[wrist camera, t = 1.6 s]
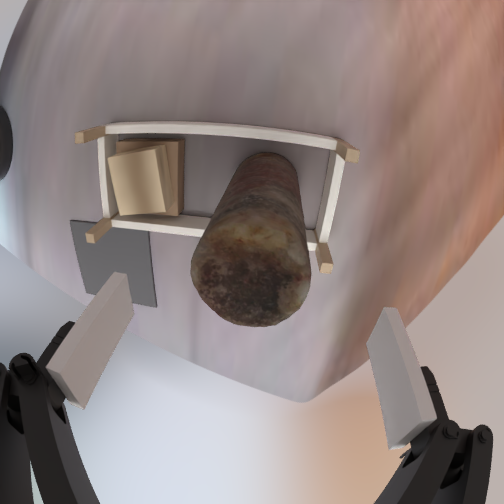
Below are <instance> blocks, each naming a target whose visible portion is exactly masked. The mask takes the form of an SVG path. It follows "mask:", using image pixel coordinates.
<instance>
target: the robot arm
mask: <svg viewBox="0 0 504 504" xmlns="http://www.w3.org/2000/svg"><path fill="white" fill-rule="evenodd" d="M11 157H12V133H11V127H10V123H9V120H8V117H7V115H6V113H5V111H4V110H3V108H2V107H1V106H0V181H1V180H2V179H3V178H4V177H5V175H6V173H7V171H8V169H9V166H10V162H11ZM133 316H134V310H133V305H132V300H131V295H130V290H129V284H128V279H127V274H124V273H118V272H114V273H113V274H112V275H111V276H110V278H109V279H108V280H107V281H106V283H105V284H104V285H103V287H102V288H101V289H100V290H99V292H98V293H97V294H96V296H95V297H94V298H93V300H92V301H91V302H90V304H89V305H88V306H87V308H86V309H85V310H84V312H83V313H82V315H81V316H80V317H79V319H78V320H77V322H76V323H75V322H71V321H69V322H67V323H66V324H65V325H63V326H62V327H61V328H60V329H59V331H58V332H57V334H56V336H55V337H54V338H53V339H52V341H51V343H49V345H48V346H47V348H46V349H45V351H44V352H43V354H42V355H41V357H40V358H39V360H38V361H37V363H36V362H35V360H34V359H33V357H32V356H31V355H30V354H27V353H20V354H18V355H16V356H15V357H13V359H12V360H11V362H10V363H9V369H10V370H7V369H6V367H5V366H4V365H3V364H2V363H0V504H34V501H33V493H32V483H31V470H30V461H31V465H32V468H33V472H34V475H35V479H36V482H37V485H38V488H39V491H40V494H41V497H42V500H43V503H44V504H100V502H99V500H98V498H97V496H96V494H95V492H94V490H93V487H92V485H91V483H90V480H89V478H88V475H87V473H86V470H85V468H84V465H83V463H82V460H81V457H80V455H79V451H78V449H77V446H76V443H75V440H74V437H73V433H72V430H71V426H70V423H69V419H68V416H67V412H66V408H65V405H64V403H63V402H64V400H65V398H67V400H68V401H69V403H70V404H71V405H74V406H76V407H78V408H81V409H83V410H84V409H85V407H86V405H87V403H88V401H89V398H90V396H91V395H92V393H93V391H94V388H95V386H96V384H97V383H98V381H99V379H100V376H101V375H102V372H103V371H104V369H105V367H106V365H107V363H108V361H109V359H110V357H111V355H112V353H113V352H114V350H115V348H116V346H117V344H118V342H119V340H120V339H121V337H122V335H123V333H124V332H125V330H126V328H127V326H128V324H129V323H130V321H131V319H132V317H133ZM366 345H367V349H368V353H369V357H370V361H371V365H372V369H373V373H374V378H375V382H376V386H377V391H378V395H379V400H380V405H381V410H382V414H383V420H384V425H385V431H386V436H387V442H388V448H389V450H391V449H398V448H403V447H405V446H406V445H407V444H408V443H410V444H411V448H410V449H409V450H407V451H406V452H405V453H404V454H402V456H400V458H403V457H404V456H405V457H404V459H403V461H402V462H401V464H400V466H399V467H398V469H397V470H396V472H395V474H394V475H393V477H392V478H391V480H390V481H389V483H388V485H387V486H386V487H385V489H384V490H383V492H382V493H381V495H380V496H379V497H378V499H377V500H376V502H375V503H374V504H485V501H486V496H487V490H488V484H489V477H490V470H491V461H492V448H493V434H492V431H491V429H490V428H488V426H485V425H479V426H477V427H476V428H475V429H474V430H468V429H461V428H459V426H458V424H457V423H456V422H454V421H452V420H449V418H448V416H447V412H446V409H445V406H444V403H443V400H442V397H441V394H440V393H439V389H438V386H437V385H436V380H435V378H434V375H433V373H432V372H431V371H430V370H429V368H428V367H427V366H424V367H420V365H419V362H418V359H417V357H416V354H415V351H414V349H413V346H412V344H411V341H410V339H409V336H408V334H407V331H406V329H405V327H404V324H403V322H402V319H401V317H400V315H399V313H398V310H397V308H391V307H384V308H383V310H382V312H381V315H380V317H379V319H378V321H377V323H376V325H375V327H374V329H373V331H372V333H371V335H370V337H369V339H368V341H367V343H366Z"/></svg>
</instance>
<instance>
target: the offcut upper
mask: <svg viewBox="0 0 504 504" xmlns="http://www.w3.org/2000/svg"><path fill="white" fill-rule="evenodd" d="M108 163H109V169H110V173H111V178H112V183H113V188H114V192H115V196H116V201H117V205H118V209H119V213H120V216H122V215H133V214H145V213H158V212H166V211H167V210H168V209H169V208H170V207H171V206H172V204H173V203H174V197H173V191H172V185H171V179H170V173H169V167H168V160H167V153H166V146H165V145H159V146H152V147H146V148H141V149H135V150H130V151H124V152H120V153H118V154H115V155H113V156H111V157H109V158H108Z"/></svg>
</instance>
